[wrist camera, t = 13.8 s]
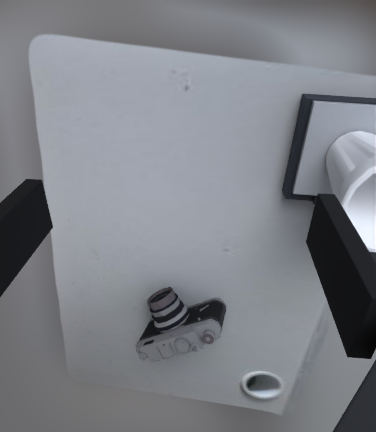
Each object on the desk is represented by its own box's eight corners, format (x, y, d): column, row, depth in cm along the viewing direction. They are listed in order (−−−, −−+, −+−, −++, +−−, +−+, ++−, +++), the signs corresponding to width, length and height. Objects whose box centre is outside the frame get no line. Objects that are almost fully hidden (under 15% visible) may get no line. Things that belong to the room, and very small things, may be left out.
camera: (208, 268, 58) (197, 298, 49) (230, 310, 60) (222, 347, 50) (133, 296, 63) (109, 328, 54) (154, 334, 65) (135, 372, 55)
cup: (317, 201, 45) (348, 265, 33) (300, 130, 40) (330, 176, 29) (401, 179, 42) (464, 240, 31) (393, 100, 37) (465, 138, 26)
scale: (302, 93, 41) (309, 100, 38) (414, 100, 40) (431, 108, 37) (282, 190, 48) (286, 203, 44) (377, 197, 47) (389, 212, 44)
